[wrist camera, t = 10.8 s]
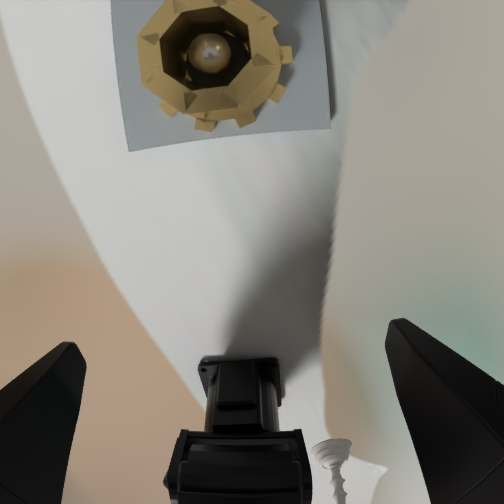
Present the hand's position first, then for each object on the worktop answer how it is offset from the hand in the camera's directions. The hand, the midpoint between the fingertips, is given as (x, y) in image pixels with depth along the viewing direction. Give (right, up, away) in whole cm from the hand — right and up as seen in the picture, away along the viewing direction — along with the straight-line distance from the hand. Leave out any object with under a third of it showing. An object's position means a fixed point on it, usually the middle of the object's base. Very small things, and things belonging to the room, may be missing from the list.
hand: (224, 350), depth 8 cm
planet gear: (-1, +12, +6) cm, 14 cm away
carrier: (-1, +15, +6) cm, 16 cm away
